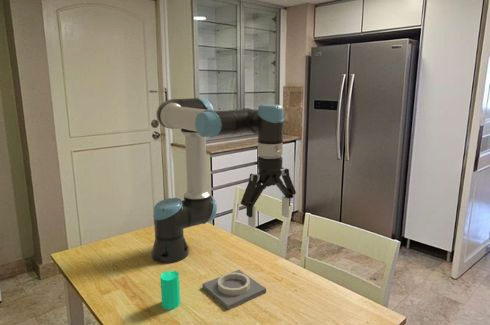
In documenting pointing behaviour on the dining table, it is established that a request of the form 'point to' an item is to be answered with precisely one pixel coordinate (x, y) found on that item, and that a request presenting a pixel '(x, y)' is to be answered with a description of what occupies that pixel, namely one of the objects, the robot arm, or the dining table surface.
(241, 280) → the candle stand
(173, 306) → the candle
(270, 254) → the dining table surface
